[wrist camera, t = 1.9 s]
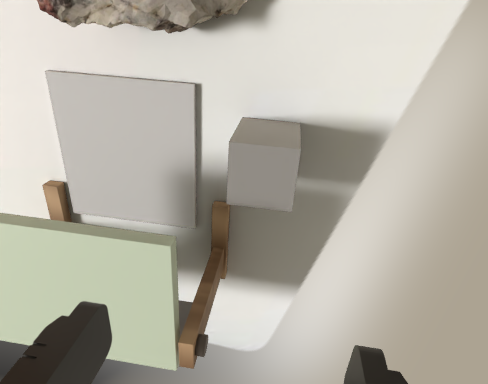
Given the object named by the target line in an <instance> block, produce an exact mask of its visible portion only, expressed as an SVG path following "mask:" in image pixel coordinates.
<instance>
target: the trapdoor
mask: <svg viewBox="0 0 488 384" xmlns="http://www.w3.org/2000/svg"><path fill="white" fill-rule="evenodd" d="M82 301H87V302H93V303H99V304H105V305H106V306H107V308H108V314H109V320H110V326H111V331H112V343H111V347H110V350H109V353H108V355H107V357H106V359H112V360H118V361H124V362H129V363H135V364H141V365H146V366H153V367H158V368H164V369H170V370H175V371H177V368H178V367H181V366H179V347H178V342H179V339H180V337H181V334H182V331H183V328H184V326H185V323H186V320H187V318H188V315H189V312H190V309H191V307H192V304H193V303H192V302H186V301H179V300H178V274H177V249H176V236H169V235H162V234H154V233H147V232H139V231H132V230H124V229H117V228H109V227H102V226H95V225H87V224H80V223H72V222H65V221H57V220H50V219H43V218H35V217H28V216H20V215H13V214H5V213H0V340H2V341H8V342H14V343H20V344H26V345H32V344H33V342H34V340H35V339H36V338H37V337H38V335H39V334H40V333H41V332H42V331H43V329H44V328H45V327H46V326H48V325H49V324H50V323H52V322H53V321H55V320H56V319H57V318H59V317H60V316H62V315H63V316H69V315H70V314H71V313H72V311H73V310H74V309H75V307H76V306H77V305H78V304H79V303H80V302H82Z"/></svg>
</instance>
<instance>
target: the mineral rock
mask: <svg viewBox="0 0 488 384" xmlns="http://www.w3.org/2000/svg"><path fill="white" fill-rule="evenodd" d="M37 1H38V4H39V7H40V10H42V11H44V12H47V13H48V14H49V15H52V16H54V18H56V19H59V20H60V21H61V22H65V23H67V24H69V25H70V26H72V27H76V26H77V25H79V24H81V23H85V24H90V23H96V24H100V25H104V26H106V27H109V28H112V27H114V26H117V25H120V24H123V23H128V24H132V25H135V26H144V27H147V28H149V29H150V30H152V31H156V30H163V29H165V31H166V32H167V33H172V32H176V31H178V32H181V31H184V30H187V29H188V28H192V27H193V26H194V25H195V24H197V23H202V22H204V21H206V20H209V19H210V18H212V17H216V18H218V17H219V16H221V15H223V14H224V15H227V14H233V15H235V14H237V12H238V11H239V9H240V8H241V6H242V5H243V4H244V3H246V2H247V1H248V0H37Z"/></svg>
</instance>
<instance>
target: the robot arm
mask: <svg viewBox="0 0 488 384" xmlns="http://www.w3.org/2000/svg"><path fill="white" fill-rule="evenodd" d="M111 343H112V331H111V326H110V320H109V314H108V308H107V306H106V305H105V304H99V303H93V302H87V301H82V302H80V303H79V304H78V305H77V306H76V307H75V309H74V310H73V311H72V313H71V314H70V315H69V316H63V315H62V316H60V317H59V318H57V319H56V320H55V321H53V322H52V323H50V324H49V325H48V326H46V327H45V328H44V329H43V331H42V332H41V333H40V334H39V335H38V337H37V338H36V339H35V340H34V342H33V344H32V345H30V347H29V348H28V349H27V350H26V351H25V352H24V354H23V357H22V358H20V359H19V360H18V361H17V362H16V363H15V365H14V366H13V367H12V368H11V370H10V371H9V372H8V373H7V374H6V376H5V377H4V378H3V379H2V380H1V382H0V384H91V383H92V382H93V380H94V378H95V376H96V375H97V373H98V371H99V369H100V367H101V366H102V364H103V362H104V361H105V359H106V357H107V355H108V353H109V350H110V347H111ZM344 384H408V383H407V382H406V380H405V379H404V378H403V376H402V374H401V373H400V372H397V371H391V370H388V369H387V365H386V361H385V357H384V354H383V351H382V350H381V349H376V348H370V347H364V346H358V345H356V346H355V347H354V349H353V352H352V355H351V358H350V362H349V365H348V368H347V371H346V374H345V379H344Z"/></svg>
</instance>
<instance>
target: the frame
mask: <svg viewBox="0 0 488 384" xmlns="http://www.w3.org/2000/svg"><path fill="white" fill-rule="evenodd" d="M43 190H44V194H45V198H46V202H47V206H48V210H49V214H50V219H51V220H57V221H65V222H72V221H71V216H70V211H69V206H68V201H67V197H66V192H65V187H64V182H57V181H48V182H47V183H45V184H44V185H43ZM229 215H230V205H229V204H226V202H220V201H214V203H213V206H212V240H211V255H210V258H209V260H208V263H207V266H206V268H205V271H204V274H203V277H202V279H201V282H200V285H199V288H198V290H197V293H196V296H195V298H194V301H193V304H192V307H191V309H190V312H189V315H188V318H187V320H186V323H185V326H184V328H183V331H182V334H181V337H180V339H179V342H178V347H179V366H181V367H187V368H194V365H195V362H196V359H197V356H201V357H204V356H205V353H206V349H207V344H208V335H205V334H204V332H205V328H206V325H207V322H208V318H209V315H210V312H211V308H212V305H213V301H214V298H215V295H216V291H217V288H218V285H219V281H220V278H221V279H225V277H226V273H227V256H228V235H229Z"/></svg>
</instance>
